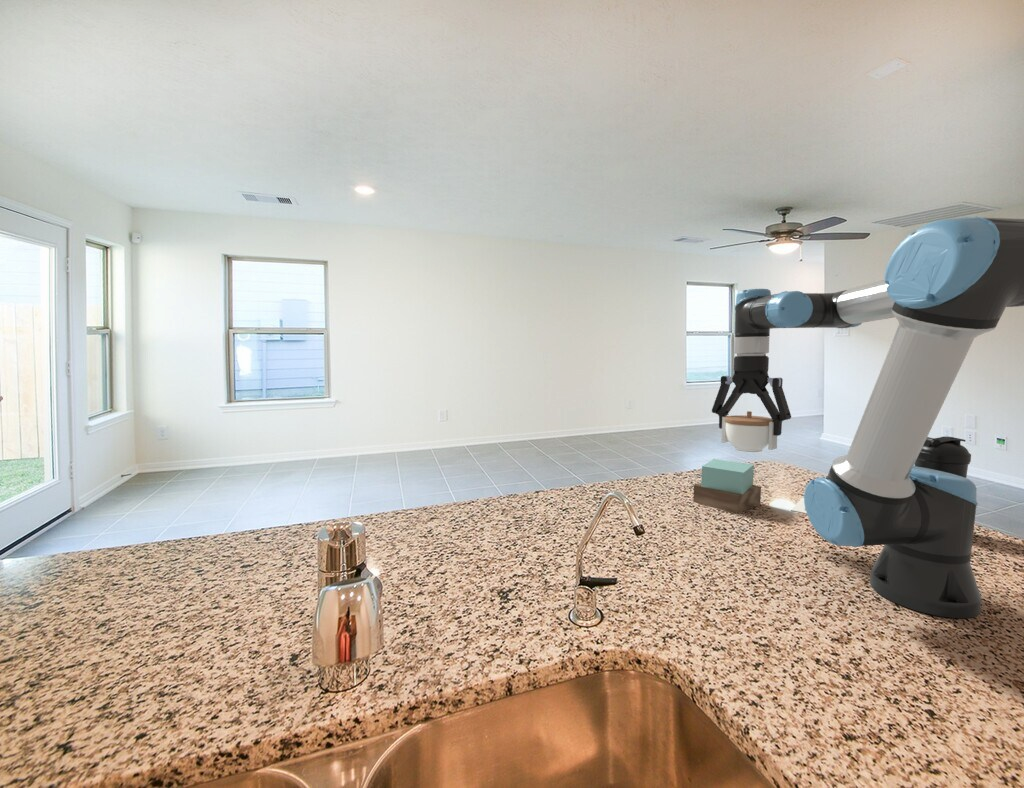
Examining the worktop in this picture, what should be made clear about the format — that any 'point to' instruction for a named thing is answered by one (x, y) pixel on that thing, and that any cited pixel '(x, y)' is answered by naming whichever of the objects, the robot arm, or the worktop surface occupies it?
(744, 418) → the lidded jar
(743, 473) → the teal brick
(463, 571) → the worktop surface
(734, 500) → the walnut base
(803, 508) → the page
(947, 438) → the water bottle
